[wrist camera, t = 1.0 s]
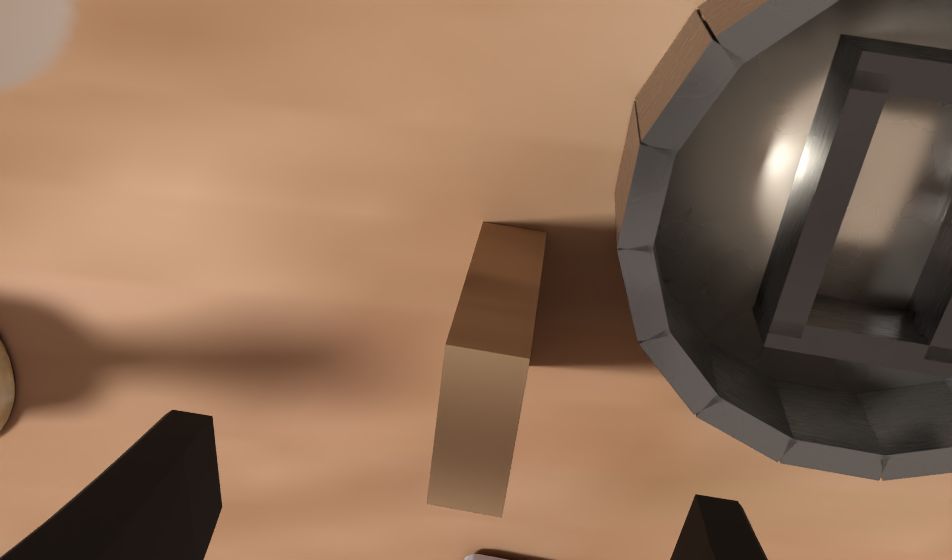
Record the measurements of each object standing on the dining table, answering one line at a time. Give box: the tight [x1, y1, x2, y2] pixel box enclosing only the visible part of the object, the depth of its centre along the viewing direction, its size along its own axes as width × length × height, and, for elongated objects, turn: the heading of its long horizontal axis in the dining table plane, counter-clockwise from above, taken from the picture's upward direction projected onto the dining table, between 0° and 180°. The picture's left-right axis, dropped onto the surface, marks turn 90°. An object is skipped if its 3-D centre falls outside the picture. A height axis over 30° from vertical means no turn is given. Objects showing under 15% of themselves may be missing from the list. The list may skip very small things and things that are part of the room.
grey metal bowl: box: [615, 0, 952, 481], centre depth 20 cm, size 13×13×4 cm
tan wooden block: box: [427, 222, 547, 518], centre depth 21 cm, size 4×2×6 cm, turn 173°
